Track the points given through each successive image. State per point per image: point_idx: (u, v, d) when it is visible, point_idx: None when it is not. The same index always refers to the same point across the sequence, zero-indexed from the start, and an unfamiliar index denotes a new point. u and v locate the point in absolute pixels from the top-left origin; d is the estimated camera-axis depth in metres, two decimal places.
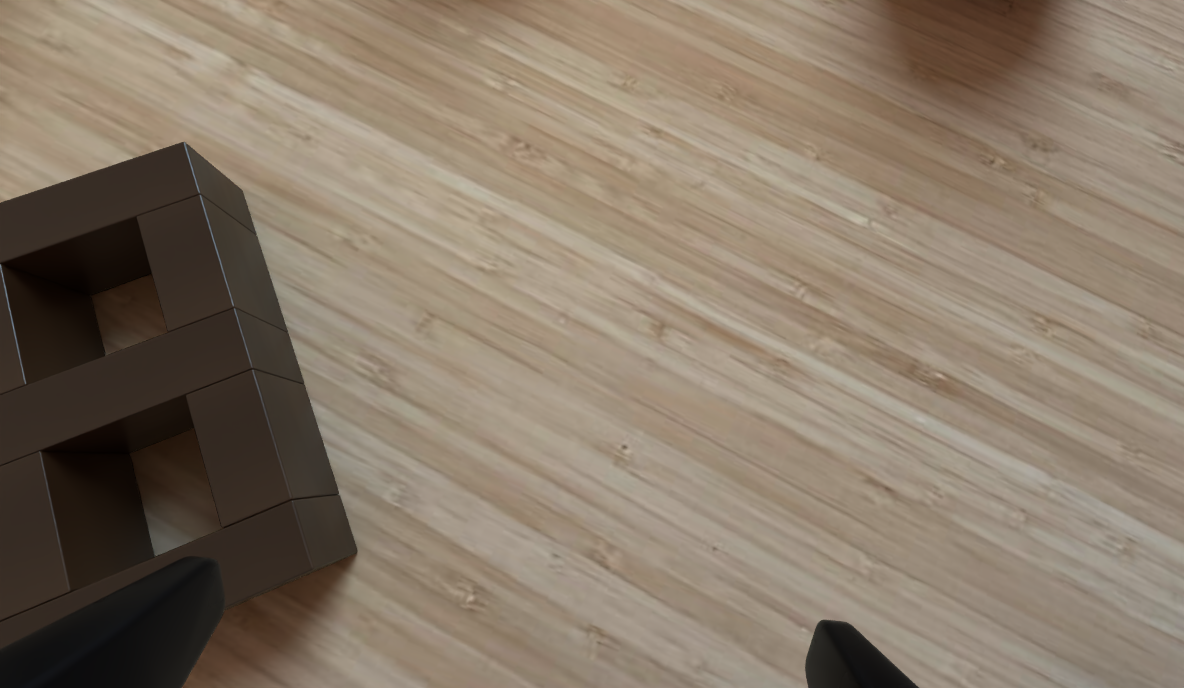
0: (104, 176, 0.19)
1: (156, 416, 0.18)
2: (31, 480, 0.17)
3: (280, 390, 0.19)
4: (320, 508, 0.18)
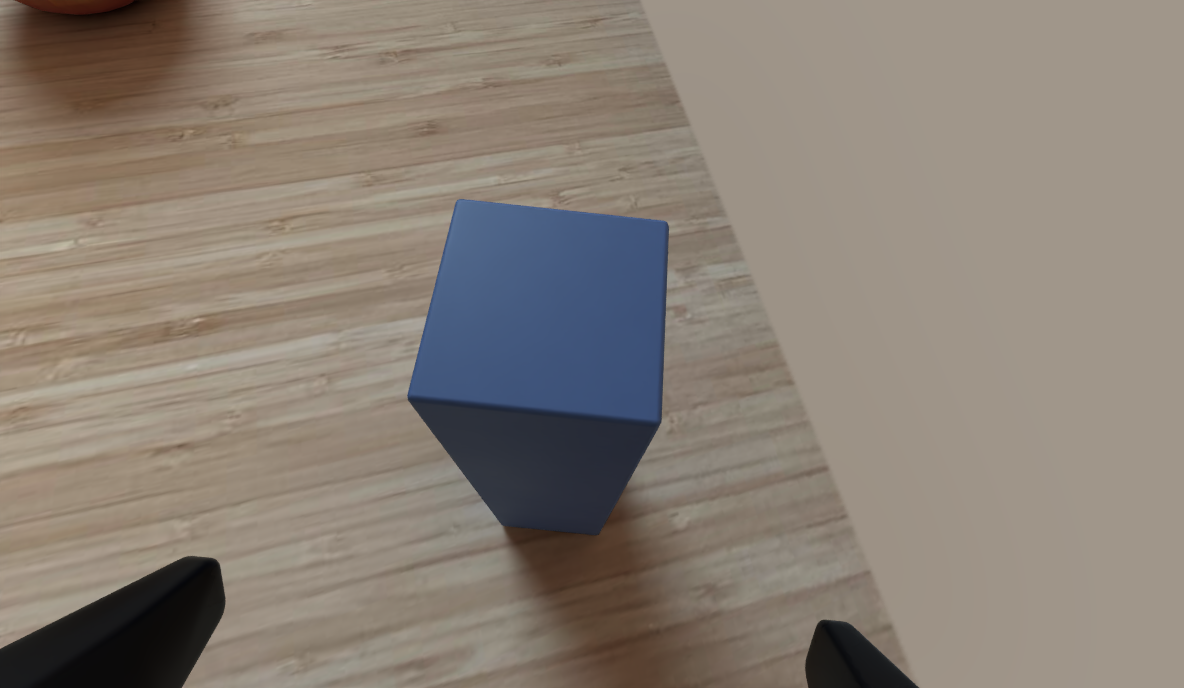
0: None
1: None
2: None
3: None
4: None
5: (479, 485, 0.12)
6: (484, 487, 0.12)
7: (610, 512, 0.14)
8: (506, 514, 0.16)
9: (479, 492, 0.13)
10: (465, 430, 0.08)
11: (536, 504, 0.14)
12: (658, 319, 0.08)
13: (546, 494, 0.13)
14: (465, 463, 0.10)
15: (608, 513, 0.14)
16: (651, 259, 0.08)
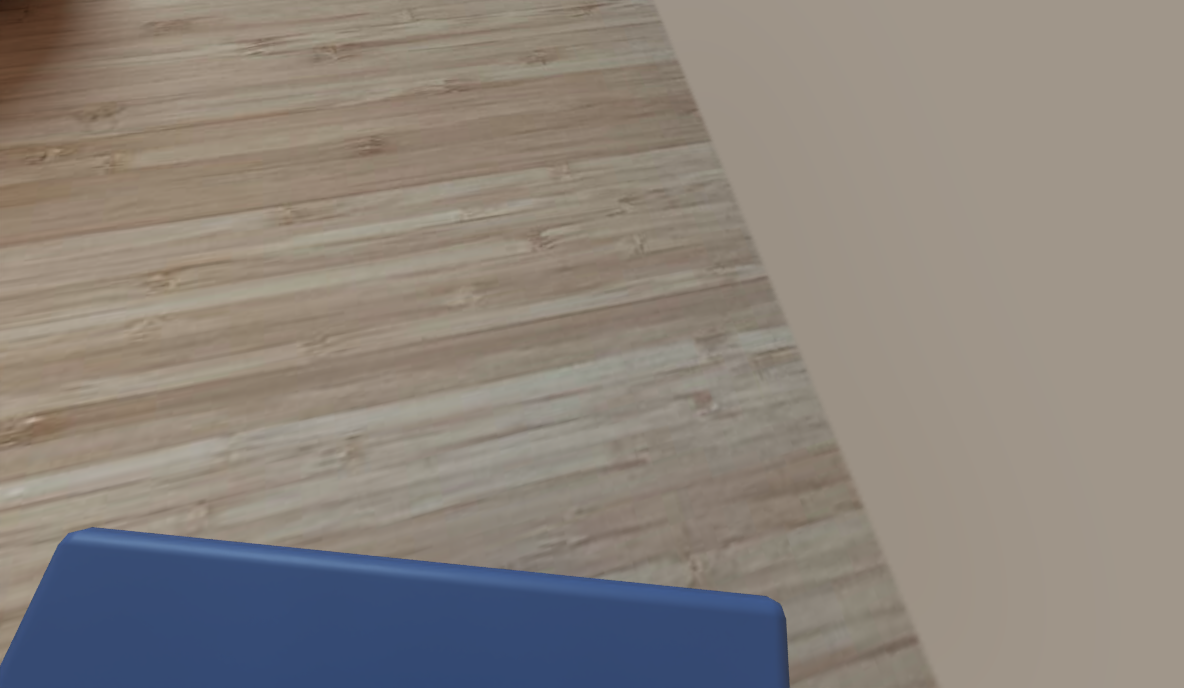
0: None
1: None
2: None
3: None
4: None
5: None
6: None
7: None
8: None
9: None
10: None
11: None
12: None
13: None
14: None
15: None
16: None
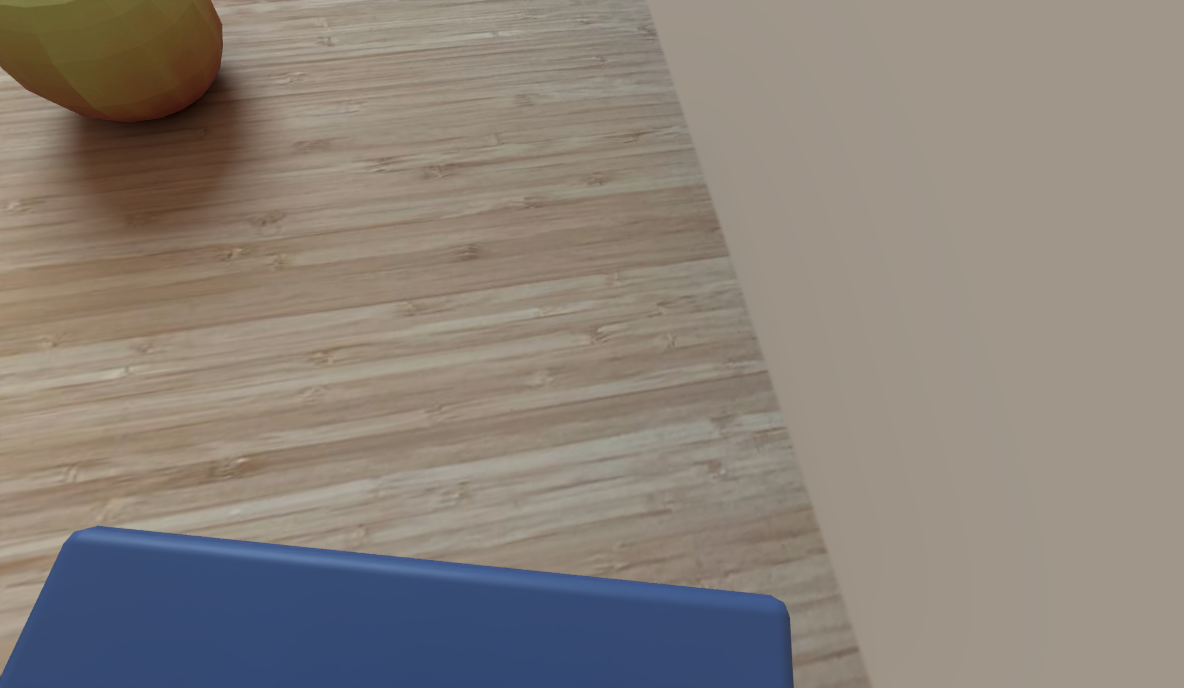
0: None
1: None
2: None
3: None
4: None
5: None
6: None
7: None
8: None
9: None
10: None
11: None
12: None
13: None
14: None
15: None
16: None
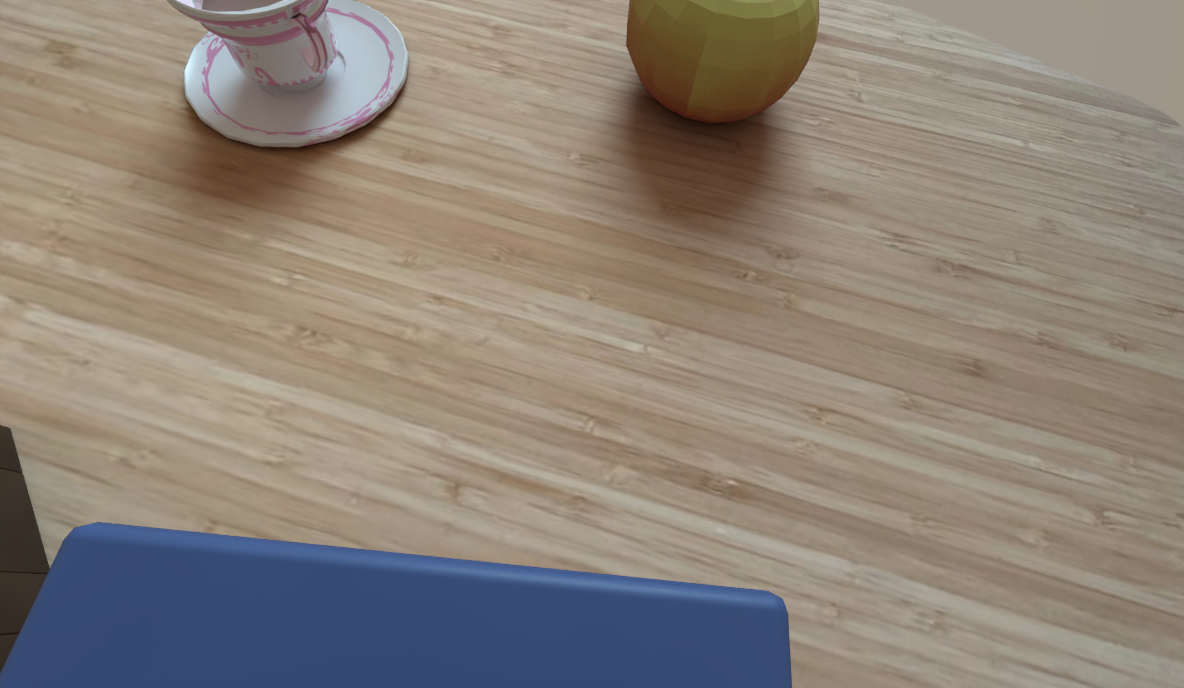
0: None
1: None
2: None
3: None
4: None
5: None
6: None
7: None
8: None
9: None
10: None
11: None
12: None
13: None
14: None
15: None
16: None
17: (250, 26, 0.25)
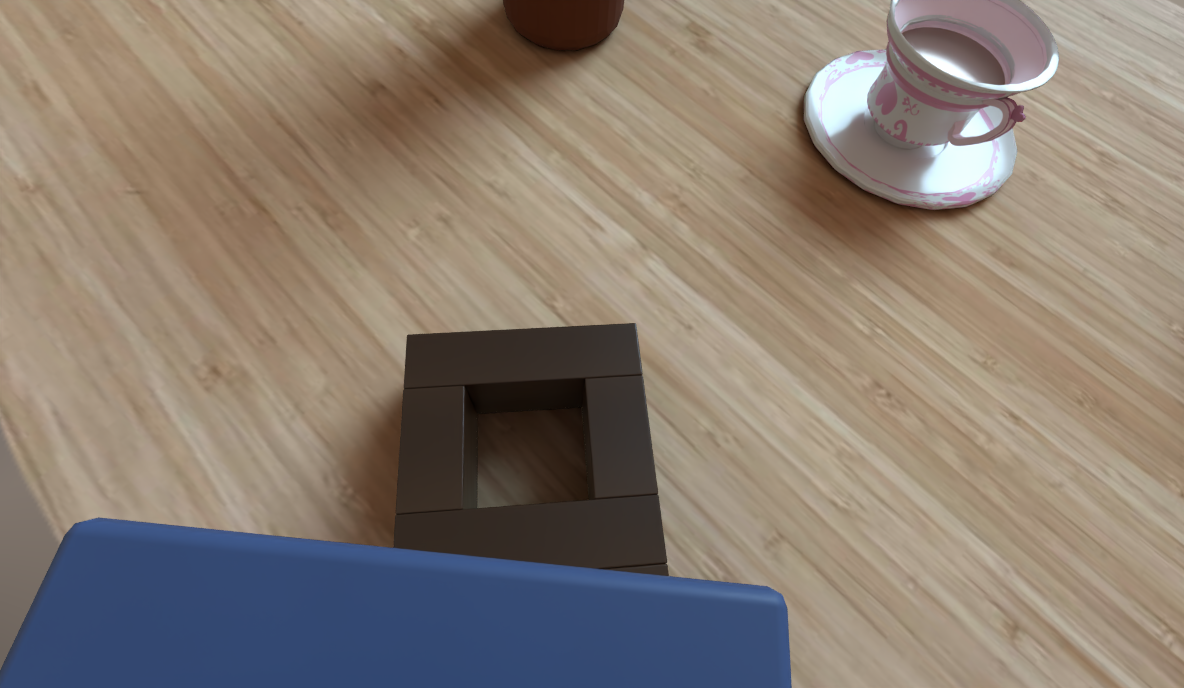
0: (564, 334, 0.21)
1: None
2: None
3: None
4: None
5: None
6: None
7: None
8: None
9: None
10: None
11: None
12: None
13: None
14: None
15: None
16: None
17: (963, 95, 0.25)
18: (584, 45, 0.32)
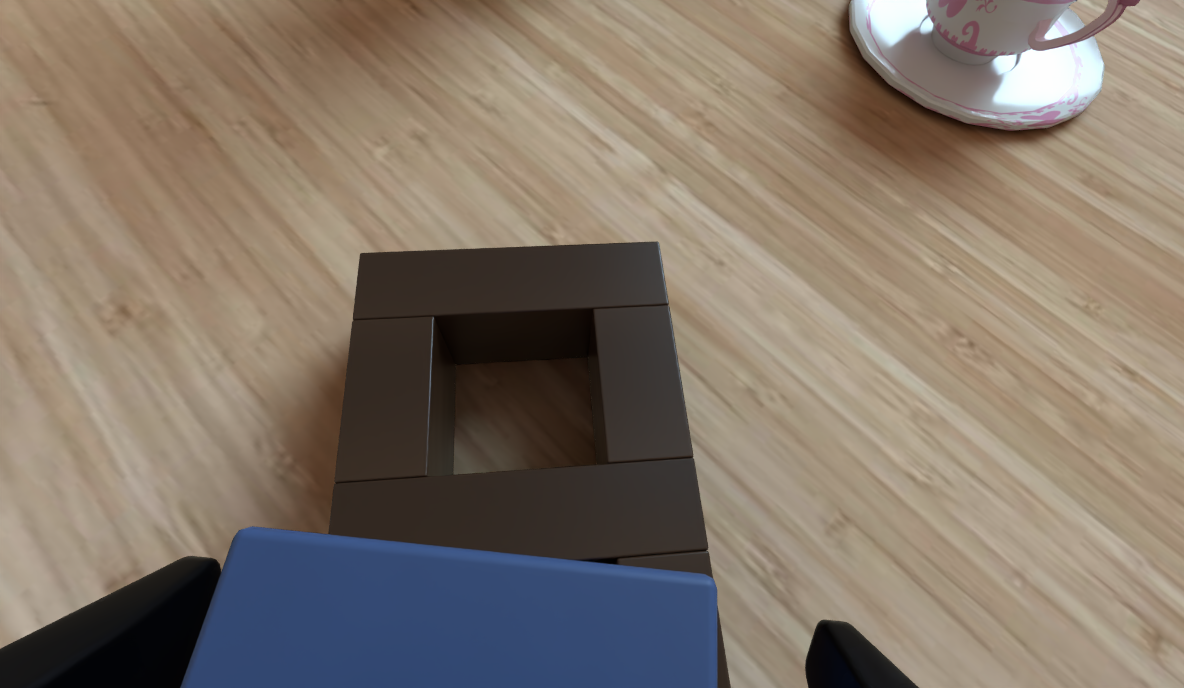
0: (566, 254, 0.16)
1: None
2: None
3: None
4: None
5: None
6: None
7: None
8: None
9: None
10: None
11: None
12: None
13: None
14: None
15: None
16: None
17: None
18: None
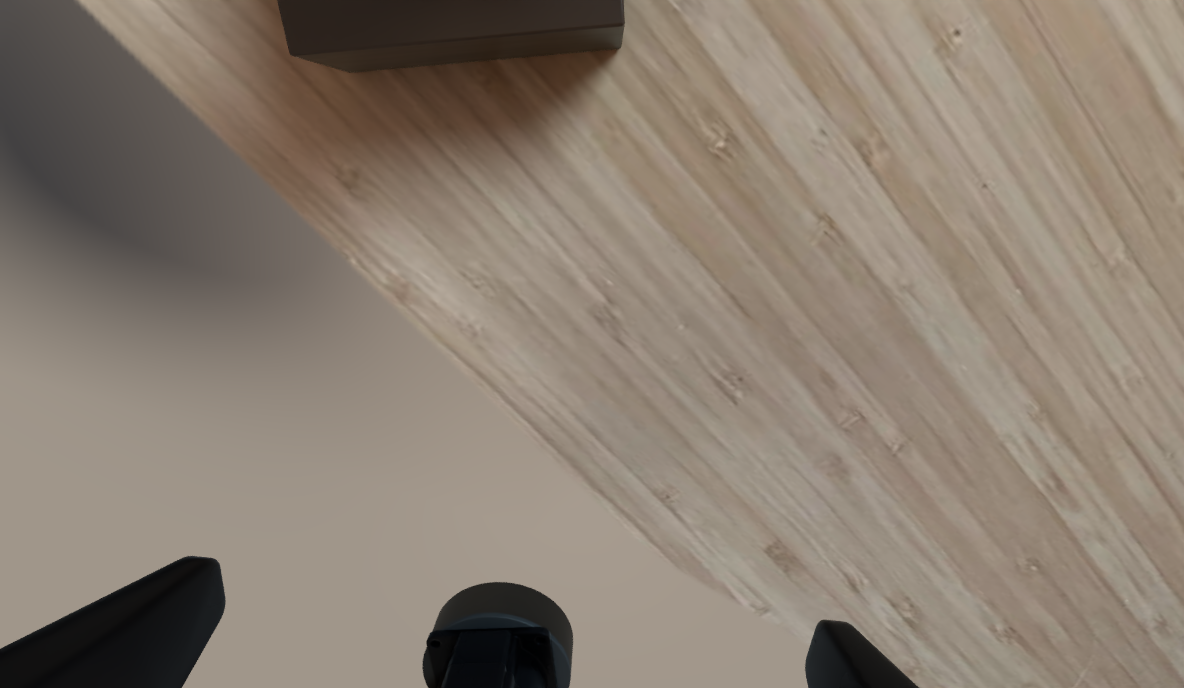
0: None
1: None
2: None
3: None
4: None
5: None
6: None
7: None
8: None
9: None
10: None
11: None
12: None
13: None
14: None
15: None
16: None
17: None
18: None
